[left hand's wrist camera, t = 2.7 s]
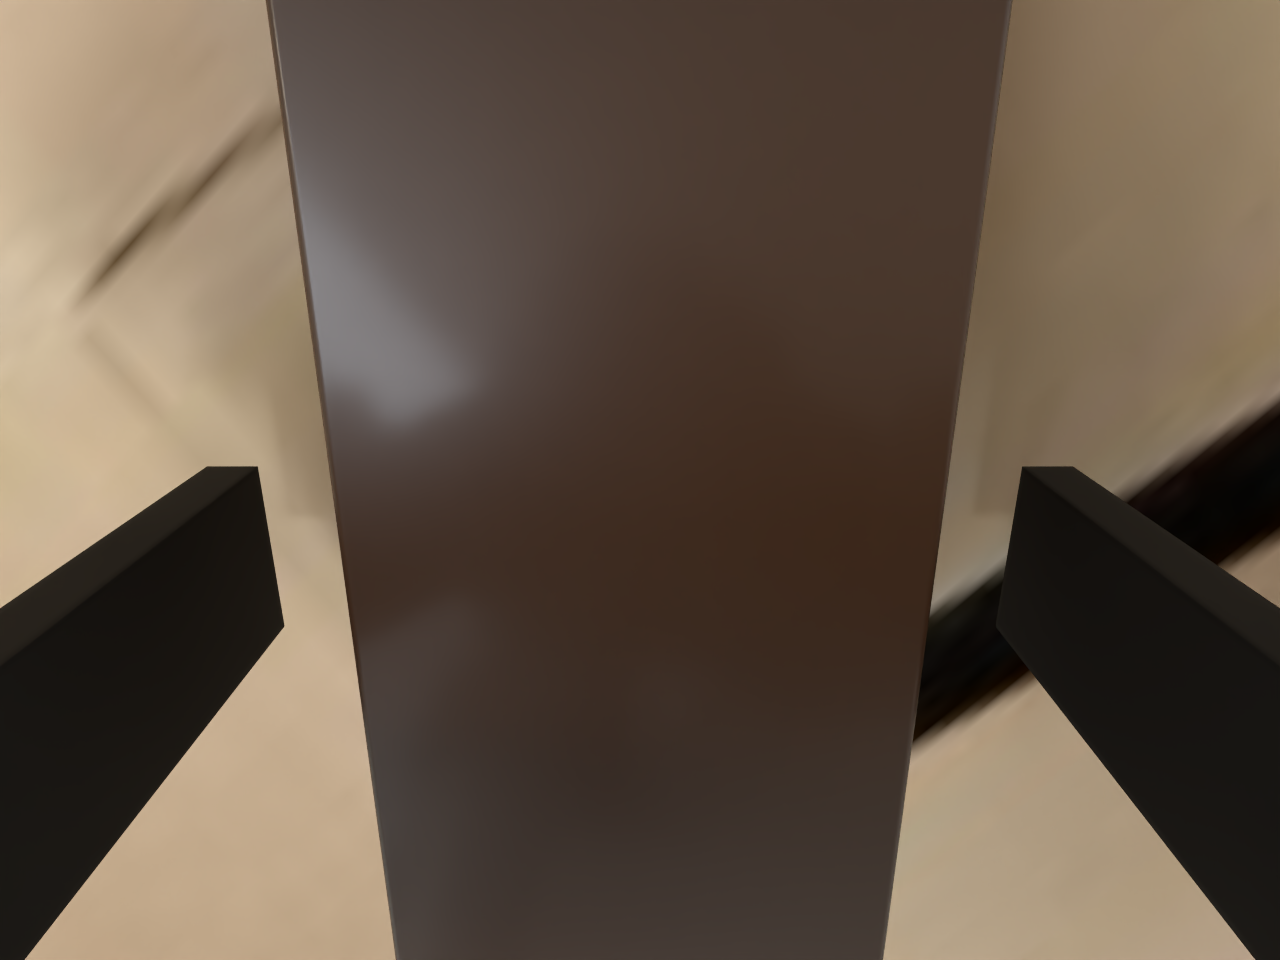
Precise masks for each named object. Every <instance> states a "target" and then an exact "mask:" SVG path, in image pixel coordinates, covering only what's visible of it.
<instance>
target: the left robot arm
mask: <svg viewBox="0 0 1280 960" xmlns="http://www.w3.org/2000/svg"><path fill="white" fill-rule="evenodd" d="M283 627H284V621H283V615H282V609H281V603H280V597H279V591H278V585H277V579H276V573H275V567H274V561H273V555H272V549H271V543H270V537H269V531H268V525H267V519H266V513H265V507H264V501H263V496H262V490H261V484H260V478H259V472H258V467H206V468H204V469H203V470H201V471H200V472H198V473H197V474H196V475H194V476H193V477H191V478H190V479H188V480H187V481H185V482H184V483H182V484H181V485H179V486H178V487H177V488H175V489H174V490H172V491H171V492H169V493H168V494H166V495H165V496H163V497H162V498H161V499H159V500H158V501H156V502H155V503H153V504H152V505H150V506H149V507H147V508H146V509H144V510H143V511H142V512H140V513H139V514H137V515H136V516H134V517H133V518H131V519H130V520H128V521H127V522H125V523H124V524H123V525H121V526H120V527H118V528H117V529H115V530H114V531H112V532H111V533H109V534H108V535H107V536H105V537H104V538H102V539H101V540H99V541H98V542H96V543H95V544H93V545H92V546H90V547H89V548H88V549H86V550H85V551H83V552H82V553H80V554H79V555H77V556H76V557H74V558H73V559H72V560H70V561H69V562H67V563H66V564H64V565H63V566H61V567H60V568H58V569H57V570H55V571H54V572H53V573H51V574H50V575H48V576H47V577H45V578H44V579H42V580H41V581H39V582H38V583H36V584H35V585H34V586H32V587H31V588H29V589H28V590H26V591H25V592H23V593H22V594H20V595H19V596H18V597H16V598H15V599H13V600H12V601H10V602H9V603H7V604H6V605H4V606H3V607H1V608H0V960H25V958H26V957H27V956H28V955H29V953H30V952H31V951H32V949H33V948H34V947H35V946H36V944H37V943H38V942H39V940H40V939H41V938H42V937H43V935H44V934H45V933H46V931H47V930H48V929H49V928H50V926H51V925H52V924H53V923H54V921H55V920H56V919H57V917H58V916H59V915H60V914H61V912H62V911H63V910H64V908H65V907H66V906H67V905H68V903H69V902H70V901H71V899H72V898H73V897H74V896H75V894H76V893H77V892H78V890H79V889H80V888H81V887H82V885H83V884H84V883H85V881H86V880H87V879H88V878H89V876H90V875H91V874H92V872H93V871H94V870H95V869H96V867H97V866H98V865H99V863H100V862H101V861H102V860H103V858H104V857H105V856H106V854H107V853H108V852H109V851H110V849H111V848H112V847H113V846H114V844H115V843H116V842H117V840H118V839H119V838H120V837H121V835H122V834H123V833H124V831H125V830H126V829H127V828H128V826H129V825H130V824H131V822H132V821H133V820H134V819H135V817H136V816H137V815H138V813H139V812H140V811H141V810H142V808H143V807H144V806H145V804H146V803H147V802H148V801H149V799H150V798H151V797H152V795H153V794H154V793H155V792H156V790H157V789H158V788H159V786H160V785H161V784H162V783H163V781H164V780H165V779H166V777H167V776H168V775H169V774H170V772H171V771H172V770H173V769H174V767H175V766H176V765H177V763H178V762H179V761H180V760H181V758H182V757H183V756H184V754H185V753H186V752H187V751H188V749H189V748H190V747H191V745H192V744H193V743H194V742H195V740H196V739H197V738H198V736H199V735H200V734H201V733H202V731H203V730H204V729H205V727H206V726H207V725H208V724H209V722H210V721H211V720H212V718H213V717H214V716H215V715H216V713H217V712H218V711H219V709H220V708H221V707H222V706H223V704H224V703H225V702H226V700H227V699H228V698H229V697H230V695H231V694H232V693H233V692H234V690H235V689H236V688H237V686H238V685H239V684H240V683H241V681H242V680H243V679H244V677H245V676H246V675H247V674H248V672H249V671H250V670H251V668H252V667H253V666H254V665H255V663H256V662H257V661H258V659H259V658H260V657H261V656H262V654H263V653H264V652H265V650H266V649H267V648H268V647H269V645H270V644H271V643H272V641H273V640H274V639H275V638H276V636H277V635H278V634H279V632H280V631H281V630H282V629H283ZM996 627H997V629H998V630H999V631H1000V633H1001V634H1002V635H1003V636H1004V638H1005V639H1006V640H1007V641H1008V643H1009V644H1010V645H1011V647H1012V648H1013V649H1014V650H1015V652H1016V653H1017V654H1018V656H1019V657H1020V658H1021V659H1022V661H1023V662H1024V663H1025V665H1026V666H1027V667H1028V668H1029V670H1030V671H1031V672H1032V674H1033V675H1034V676H1035V677H1036V679H1037V680H1038V681H1039V683H1040V684H1041V685H1042V686H1043V688H1044V689H1045V690H1046V692H1047V693H1048V694H1049V695H1050V697H1051V698H1052V699H1053V701H1054V702H1055V703H1056V704H1057V706H1058V707H1059V708H1060V710H1061V711H1062V712H1063V713H1064V715H1065V716H1066V717H1067V718H1068V720H1069V721H1070V722H1071V724H1072V725H1073V726H1074V727H1075V729H1076V730H1077V731H1078V733H1079V734H1080V735H1081V736H1082V738H1083V739H1084V740H1085V742H1086V743H1087V744H1088V745H1089V747H1090V748H1091V749H1092V751H1093V752H1094V753H1095V754H1096V756H1097V757H1098V758H1099V760H1100V761H1101V762H1102V763H1103V765H1104V766H1105V767H1106V769H1107V770H1108V771H1109V772H1110V774H1111V775H1112V776H1113V778H1114V779H1115V780H1116V781H1117V783H1118V784H1119V785H1120V786H1121V788H1122V789H1123V790H1124V792H1125V793H1126V794H1127V795H1128V797H1129V798H1130V799H1131V801H1132V802H1133V803H1134V804H1135V806H1136V807H1137V808H1138V810H1139V811H1140V812H1141V813H1142V815H1143V816H1144V817H1145V819H1146V820H1147V821H1148V822H1149V824H1150V825H1151V826H1152V828H1153V829H1154V830H1155V831H1156V833H1157V834H1158V835H1159V837H1160V838H1161V839H1162V840H1163V842H1164V843H1165V844H1166V846H1167V847H1168V848H1169V849H1170V851H1171V852H1172V853H1173V855H1174V856H1175V857H1176V858H1177V860H1178V861H1179V862H1180V863H1181V865H1182V866H1183V867H1184V869H1185V870H1186V871H1187V872H1188V874H1189V875H1190V876H1191V878H1192V879H1193V880H1194V881H1195V883H1196V884H1197V885H1198V887H1199V888H1200V889H1201V890H1202V892H1203V893H1204V894H1205V896H1206V897H1207V898H1208V899H1209V901H1210V902H1211V903H1212V905H1213V906H1214V907H1215V908H1216V910H1217V911H1218V912H1219V914H1220V915H1221V916H1222V917H1223V919H1224V920H1225V921H1226V923H1227V924H1228V925H1229V926H1230V928H1231V929H1232V930H1233V932H1234V933H1235V934H1236V935H1237V937H1238V938H1239V939H1240V940H1241V942H1242V943H1243V944H1244V946H1245V947H1246V948H1247V949H1248V951H1249V952H1250V953H1251V955H1252V956H1253V957H1254V958H1255V960H1280V608H1279V607H1277V606H1276V605H1274V604H1273V603H1271V602H1270V601H1268V600H1267V599H1265V598H1264V597H1262V596H1261V595H1260V594H1258V593H1257V592H1255V591H1254V590H1252V589H1251V588H1249V587H1248V586H1246V585H1245V584H1243V583H1242V582H1241V581H1239V580H1238V579H1236V578H1235V577H1233V576H1232V575H1230V574H1229V573H1227V572H1226V571H1225V570H1223V569H1222V568H1220V567H1219V566H1217V565H1216V564H1214V563H1213V562H1211V561H1210V560H1208V559H1207V558H1206V557H1204V556H1203V555H1201V554H1200V553H1198V552H1197V551H1195V550H1194V549H1192V548H1191V547H1190V546H1188V545H1187V544H1185V543H1184V542H1182V541H1181V540H1179V539H1178V538H1176V537H1175V536H1173V535H1172V534H1171V533H1169V532H1168V531H1166V530H1165V529H1163V528H1162V527H1160V526H1159V525H1157V524H1156V523H1154V522H1153V521H1152V520H1150V519H1149V518H1147V517H1146V516H1144V515H1143V514H1141V513H1140V512H1138V511H1137V510H1136V509H1134V508H1133V507H1131V506H1130V505H1128V504H1127V503H1125V502H1124V501H1122V500H1121V499H1119V498H1118V497H1117V496H1115V495H1114V494H1112V493H1111V492H1109V491H1108V490H1106V489H1105V488H1103V487H1102V486H1101V485H1099V484H1098V483H1096V482H1095V481H1093V480H1092V479H1090V478H1089V477H1087V476H1086V475H1084V474H1083V473H1082V472H1080V471H1079V470H1077V469H1076V468H1074V467H1022V471H1021V477H1020V483H1019V489H1018V495H1017V501H1016V507H1015V513H1014V519H1013V525H1012V531H1011V537H1010V543H1009V549H1008V555H1007V561H1006V567H1005V573H1004V579H1003V585H1002V591H1001V597H1000V603H999V609H998V615H997V621H996Z"/></svg>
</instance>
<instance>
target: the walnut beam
mask: <svg viewBox="0 0 1280 960" xmlns="http://www.w3.org/2000/svg"><path fill="white" fill-rule="evenodd" d="M266 5H267V12H268V20H269V27H270V34H271V42H272V49H273V57H274V64H275V71H276V79H277V86H278V93H279V101H280V108H281V115H282V123H283V130H284V138H285V145H286V152H287V160H288V167H289V174H290V182H291V189H292V197H293V204H294V211H295V219H296V226H297V233H298V241H299V248H300V255H301V263H302V270H303V278H304V285H305V292H306V300H307V307H308V314H309V322H310V329H311V337H312V344H313V351H314V359H315V366H316V373H317V381H318V388H319V396H320V403H321V410H322V418H323V425H324V432H325V440H326V447H327V454H328V462H329V469H330V477H331V484H332V491H333V499H334V506H335V513H336V521H337V528H338V536H339V543H340V550H341V558H342V565H343V572H344V580H345V587H346V594H347V602H348V609H349V617H350V624H351V631H352V639H353V646H354V653H355V661H356V668H357V676H358V683H359V690H360V698H361V705H362V712H363V720H364V727H365V734H366V742H367V749H368V757H369V764H370V771H371V779H372V786H373V793H374V801H375V808H376V816H377V823H378V830H379V838H380V845H381V852H382V860H383V867H384V875H385V882H386V889H387V897H388V904H389V911H390V919H391V926H392V933H393V941H394V948H395V956H396V960H883V955H884V948H885V940H886V933H887V926H888V918H889V911H890V903H891V896H892V889H893V881H894V874H895V866H896V859H897V852H898V844H899V837H900V829H901V822H902V815H903V807H904V800H905V792H906V785H907V777H908V770H909V763H910V755H911V748H912V740H913V733H914V726H915V718H916V711H917V703H918V696H919V689H920V681H921V674H922V666H923V659H924V652H925V644H926V637H927V629H928V622H929V615H930V607H931V600H932V592H933V585H934V578H935V570H936V563H937V555H938V548H939V540H940V533H941V526H942V518H943V511H944V503H945V496H946V489H947V481H948V474H949V466H950V459H951V452H952V444H953V437H954V429H955V422H956V415H957V407H958V400H959V392H960V385H961V378H962V370H963V363H964V355H965V348H966V341H967V333H968V326H969V318H970V311H971V304H972V296H973V289H974V281H975V274H976V266H977V259H978V252H979V244H980V237H981V229H982V222H983V215H984V207H985V200H986V192H987V185H988V178H989V170H990V163H991V155H992V148H993V141H994V133H995V126H996V118H997V111H998V104H999V96H1000V89H1001V81H1002V74H1003V67H1004V59H1005V52H1006V44H1007V37H1008V29H1009V22H1010V15H1011V7H1012V0H266Z"/></svg>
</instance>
